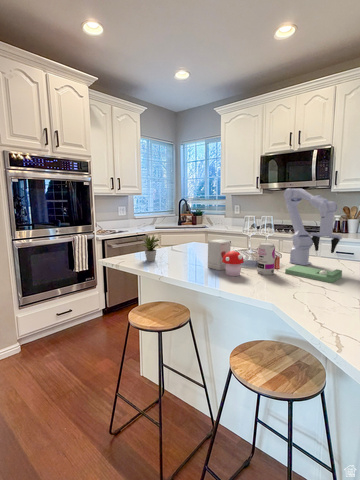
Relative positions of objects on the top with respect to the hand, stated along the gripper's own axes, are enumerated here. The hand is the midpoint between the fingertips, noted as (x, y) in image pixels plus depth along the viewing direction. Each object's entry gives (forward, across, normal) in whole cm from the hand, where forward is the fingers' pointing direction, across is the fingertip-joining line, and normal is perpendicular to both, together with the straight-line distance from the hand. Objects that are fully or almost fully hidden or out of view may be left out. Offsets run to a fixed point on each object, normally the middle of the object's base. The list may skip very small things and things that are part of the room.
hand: (324, 251), depth 141 cm
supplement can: (+10, -18, -26) cm, 33 cm away
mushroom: (+10, -28, -40) cm, 50 cm away
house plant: (+10, -80, -52) cm, 96 cm away
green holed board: (+10, 0, -13) cm, 16 cm away
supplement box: (+10, -41, -35) cm, 55 cm away
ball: (+8, +5, -14) cm, 17 cm away
